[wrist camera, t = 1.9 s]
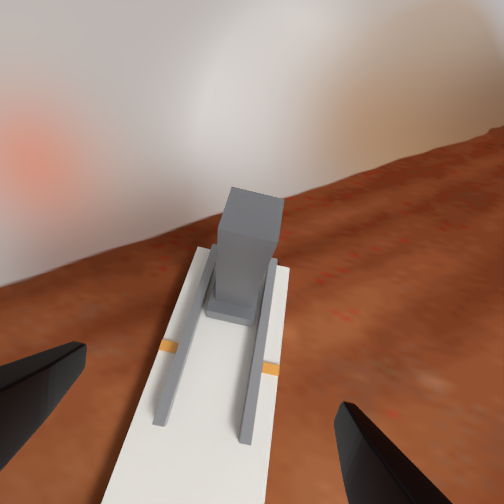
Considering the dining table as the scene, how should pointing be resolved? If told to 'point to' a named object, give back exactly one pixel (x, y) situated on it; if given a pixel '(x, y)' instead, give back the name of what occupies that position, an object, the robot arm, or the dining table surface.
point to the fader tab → (243, 254)
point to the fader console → (206, 401)
